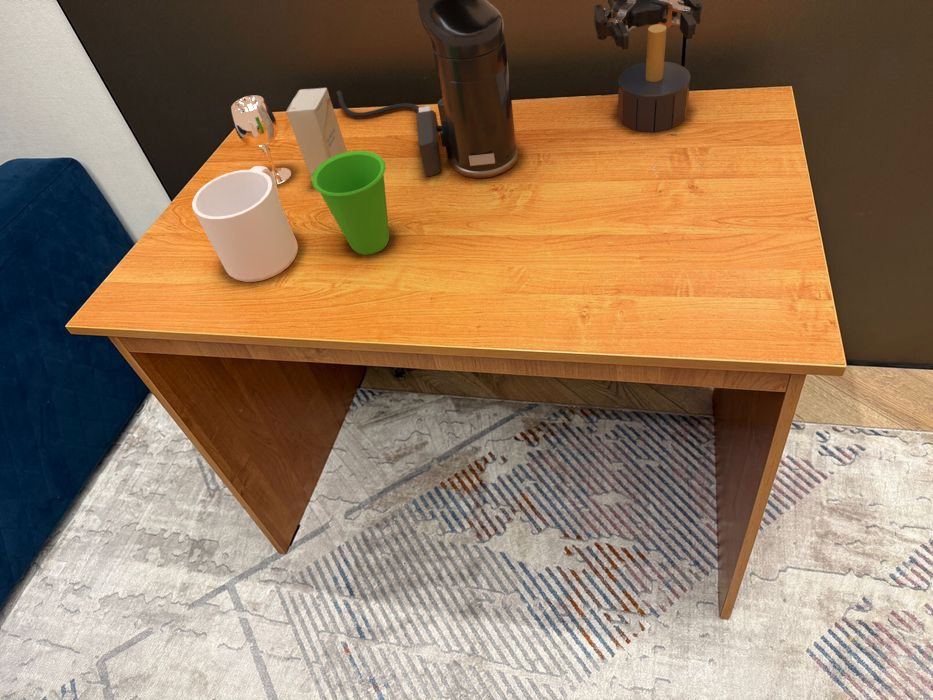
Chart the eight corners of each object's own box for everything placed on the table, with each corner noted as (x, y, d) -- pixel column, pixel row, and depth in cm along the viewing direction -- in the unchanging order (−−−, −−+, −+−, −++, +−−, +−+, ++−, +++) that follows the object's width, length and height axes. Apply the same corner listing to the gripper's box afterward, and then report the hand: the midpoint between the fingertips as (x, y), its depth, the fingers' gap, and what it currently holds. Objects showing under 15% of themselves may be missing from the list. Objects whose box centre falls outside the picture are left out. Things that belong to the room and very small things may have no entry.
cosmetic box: (340, 186, 101) (315, 110, 92) (312, 187, 102) (284, 112, 93) (351, 161, 105) (328, 86, 96) (324, 163, 106) (298, 88, 97)
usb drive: (418, 145, 96) (438, 141, 96) (415, 102, 104) (433, 99, 104) (425, 177, 100) (444, 174, 100) (421, 133, 108) (439, 130, 108)
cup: (414, 224, 93) (396, 152, 85) (387, 269, 87) (366, 197, 79) (354, 217, 96) (331, 147, 87) (325, 261, 90) (298, 191, 82)
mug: (277, 286, 88) (247, 222, 81) (211, 279, 91) (176, 216, 83) (319, 224, 96) (294, 159, 88) (256, 219, 99) (228, 156, 91)
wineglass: (251, 185, 105) (219, 113, 96) (271, 164, 108) (242, 92, 99) (282, 190, 103) (252, 116, 94) (302, 167, 106) (275, 94, 97)
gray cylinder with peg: (629, 137, 99) (632, 51, 90) (609, 104, 105) (610, 20, 96) (696, 124, 99) (707, 36, 90) (673, 91, 105) (680, 6, 96)
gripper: (583, -29, 101) (605, 17, 90) (682, -46, 100) (715, -1, 90) (584, 23, 107) (604, 72, 96) (678, 7, 106) (708, 56, 95)
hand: (658, 37), depth 93 cm, fingers open, 8 cm apart
